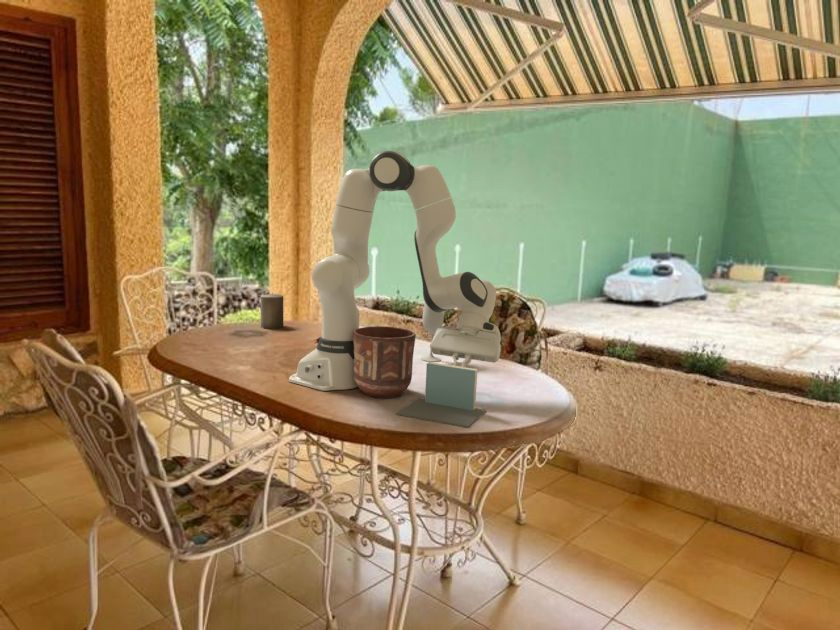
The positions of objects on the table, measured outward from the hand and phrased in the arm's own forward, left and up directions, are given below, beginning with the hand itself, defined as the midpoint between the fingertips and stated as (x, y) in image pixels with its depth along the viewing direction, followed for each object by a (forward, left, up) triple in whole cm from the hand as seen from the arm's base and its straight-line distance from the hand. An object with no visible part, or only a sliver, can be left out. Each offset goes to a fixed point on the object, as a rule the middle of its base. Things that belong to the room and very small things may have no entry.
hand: (458, 369), depth 174 cm
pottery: (-22, -3, -10) cm, 24 cm away
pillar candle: (-106, +58, -10) cm, 121 cm away
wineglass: (-25, +42, -10) cm, 50 cm away
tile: (0, -5, -9) cm, 10 cm away
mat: (0, -11, -9) cm, 15 cm away
